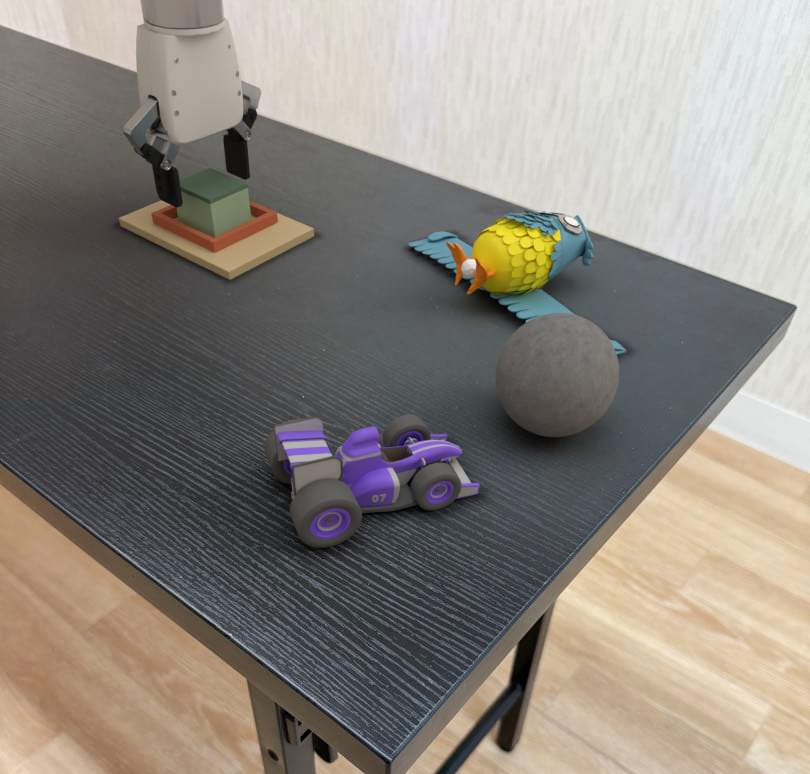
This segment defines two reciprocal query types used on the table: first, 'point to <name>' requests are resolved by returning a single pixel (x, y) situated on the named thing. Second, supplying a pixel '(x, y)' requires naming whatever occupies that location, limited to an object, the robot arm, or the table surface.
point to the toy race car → (362, 474)
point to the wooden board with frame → (220, 237)
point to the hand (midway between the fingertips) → (205, 188)
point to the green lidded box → (213, 202)
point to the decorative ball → (557, 375)
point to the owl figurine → (516, 259)
